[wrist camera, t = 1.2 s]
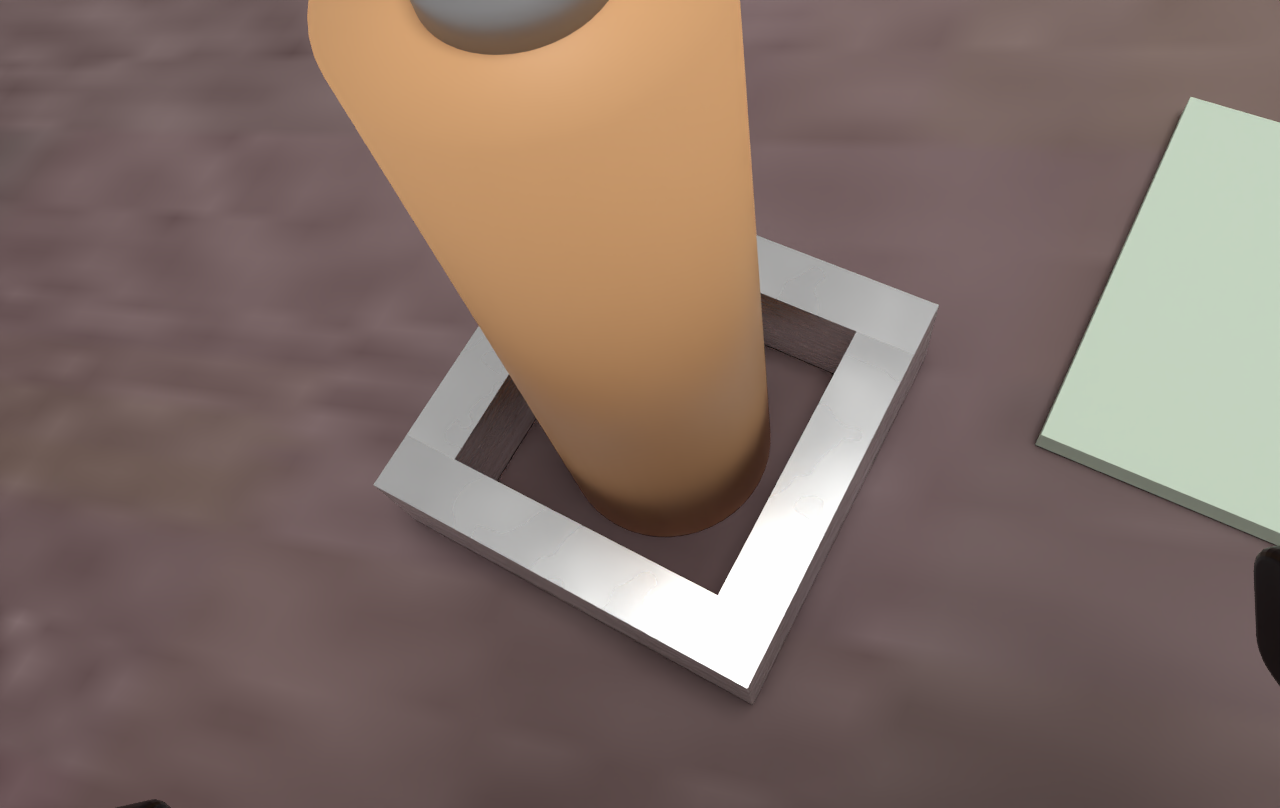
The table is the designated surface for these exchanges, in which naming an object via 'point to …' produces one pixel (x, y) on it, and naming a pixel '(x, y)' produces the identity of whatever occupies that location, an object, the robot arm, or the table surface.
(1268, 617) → the robot arm
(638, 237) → the plug
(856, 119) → the table surface
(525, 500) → the frame
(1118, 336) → the mat
